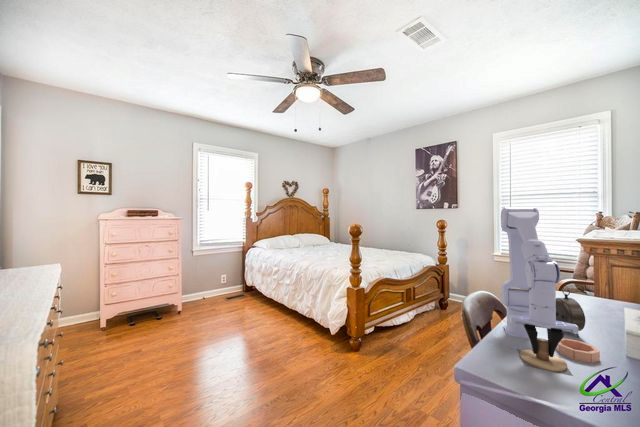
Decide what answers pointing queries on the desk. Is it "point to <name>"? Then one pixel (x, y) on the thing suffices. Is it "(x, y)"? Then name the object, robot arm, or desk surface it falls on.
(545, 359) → the lid
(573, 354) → the bowl
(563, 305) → the alarm clock
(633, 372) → the desk surface
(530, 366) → the mat
